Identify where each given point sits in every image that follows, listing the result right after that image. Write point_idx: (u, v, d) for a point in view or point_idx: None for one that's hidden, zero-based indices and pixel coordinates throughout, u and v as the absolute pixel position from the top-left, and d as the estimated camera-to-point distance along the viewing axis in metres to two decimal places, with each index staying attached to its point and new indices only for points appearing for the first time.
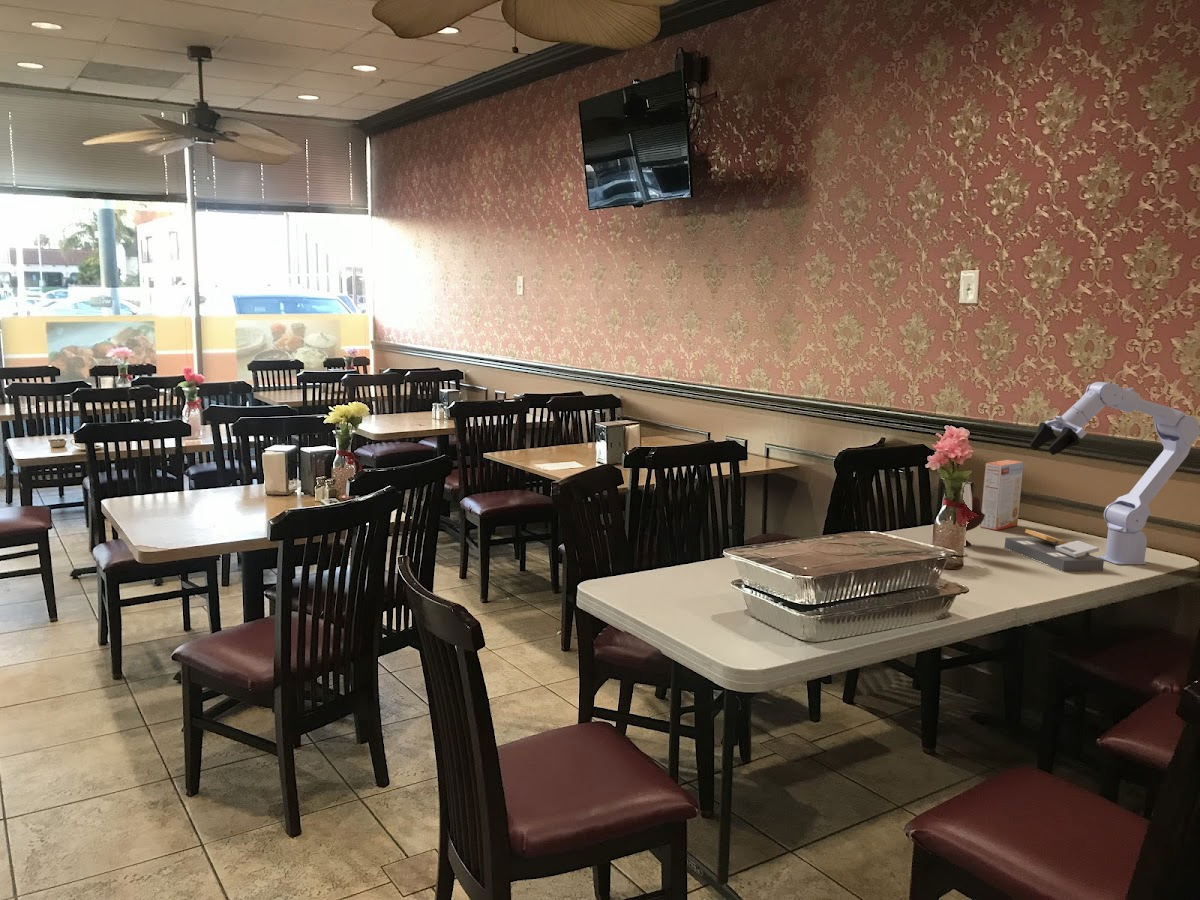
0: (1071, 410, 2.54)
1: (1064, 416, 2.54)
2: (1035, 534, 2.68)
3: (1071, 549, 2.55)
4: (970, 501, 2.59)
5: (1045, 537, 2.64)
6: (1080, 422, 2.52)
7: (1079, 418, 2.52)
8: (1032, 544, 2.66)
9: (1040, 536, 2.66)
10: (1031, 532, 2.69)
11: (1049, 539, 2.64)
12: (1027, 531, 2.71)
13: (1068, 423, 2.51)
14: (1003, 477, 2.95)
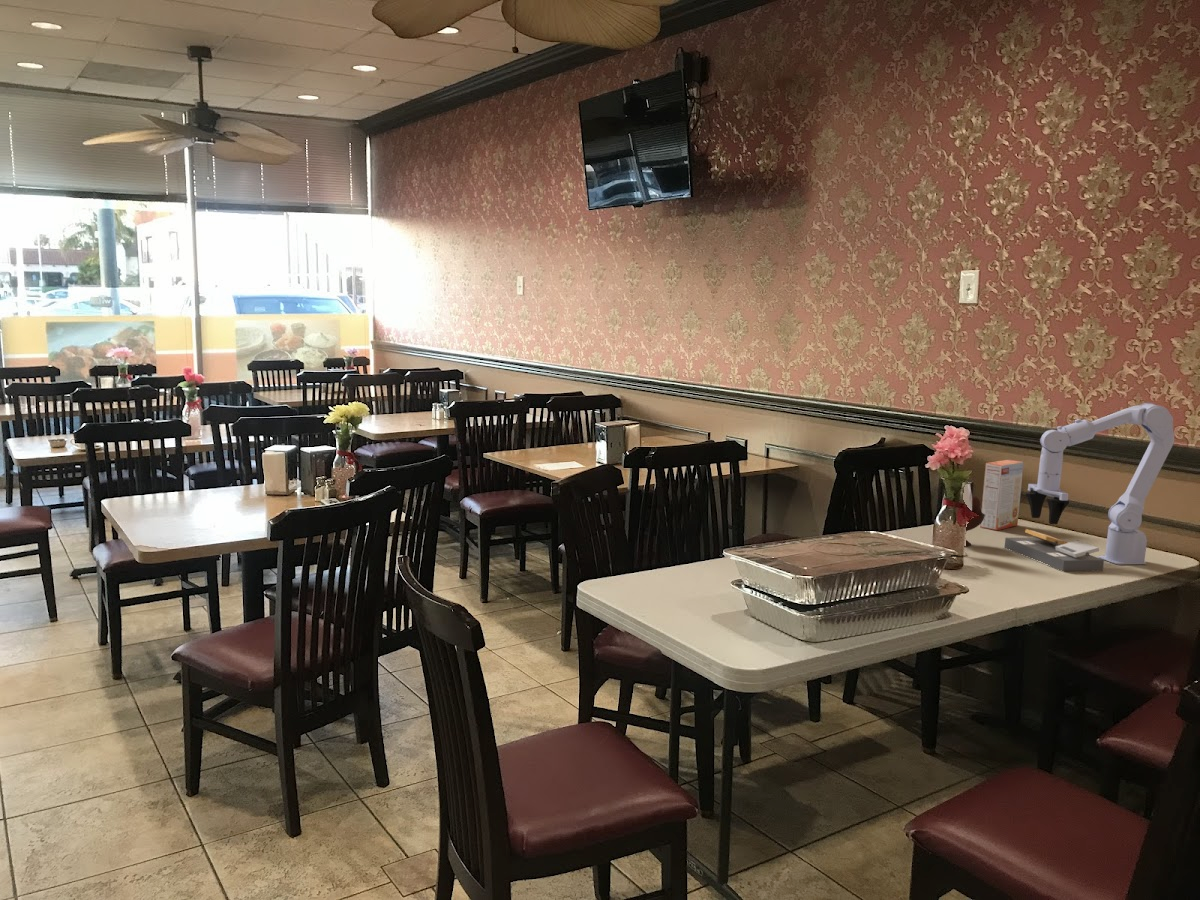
0: (1041, 476, 2.65)
1: (1040, 484, 2.65)
2: (1035, 534, 2.68)
3: (1071, 549, 2.55)
4: (970, 501, 2.59)
5: (1045, 537, 2.64)
6: (1056, 481, 2.63)
7: (1053, 479, 2.63)
8: (1032, 544, 2.66)
9: (1040, 536, 2.66)
10: (1031, 532, 2.69)
11: (1049, 539, 2.64)
12: (1027, 531, 2.71)
13: (1048, 492, 2.63)
14: (1003, 477, 2.95)
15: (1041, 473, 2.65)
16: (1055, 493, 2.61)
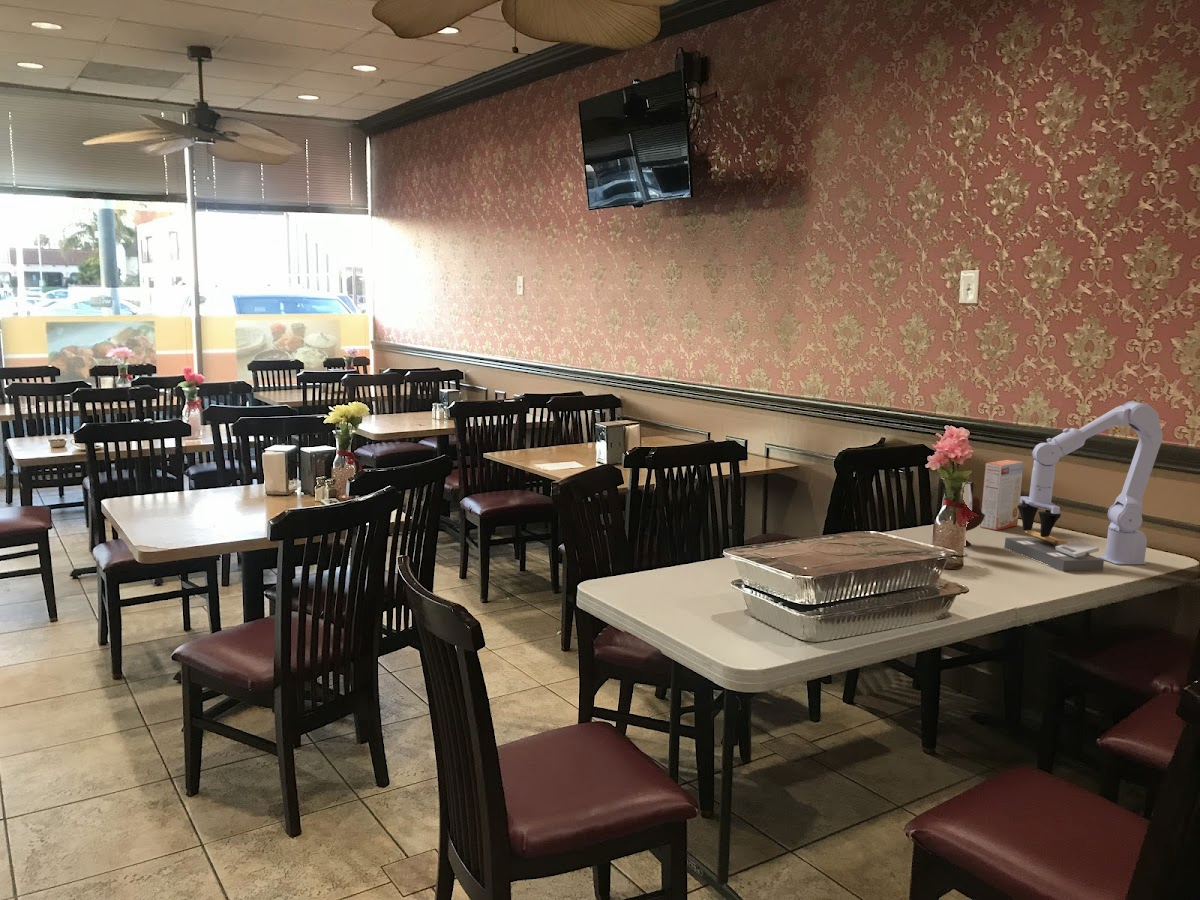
0: (1033, 489, 2.65)
1: (1031, 497, 2.65)
2: (1035, 534, 2.68)
3: (1071, 549, 2.55)
4: (970, 501, 2.59)
5: (1045, 537, 2.64)
6: (1047, 494, 2.63)
7: (1045, 492, 2.63)
8: (1032, 544, 2.66)
9: (1040, 536, 2.66)
10: (1031, 532, 2.69)
11: (1049, 539, 2.64)
12: (1027, 531, 2.71)
13: (1039, 505, 2.63)
14: (1003, 477, 2.95)
15: (1033, 486, 2.65)
16: (1047, 506, 2.61)
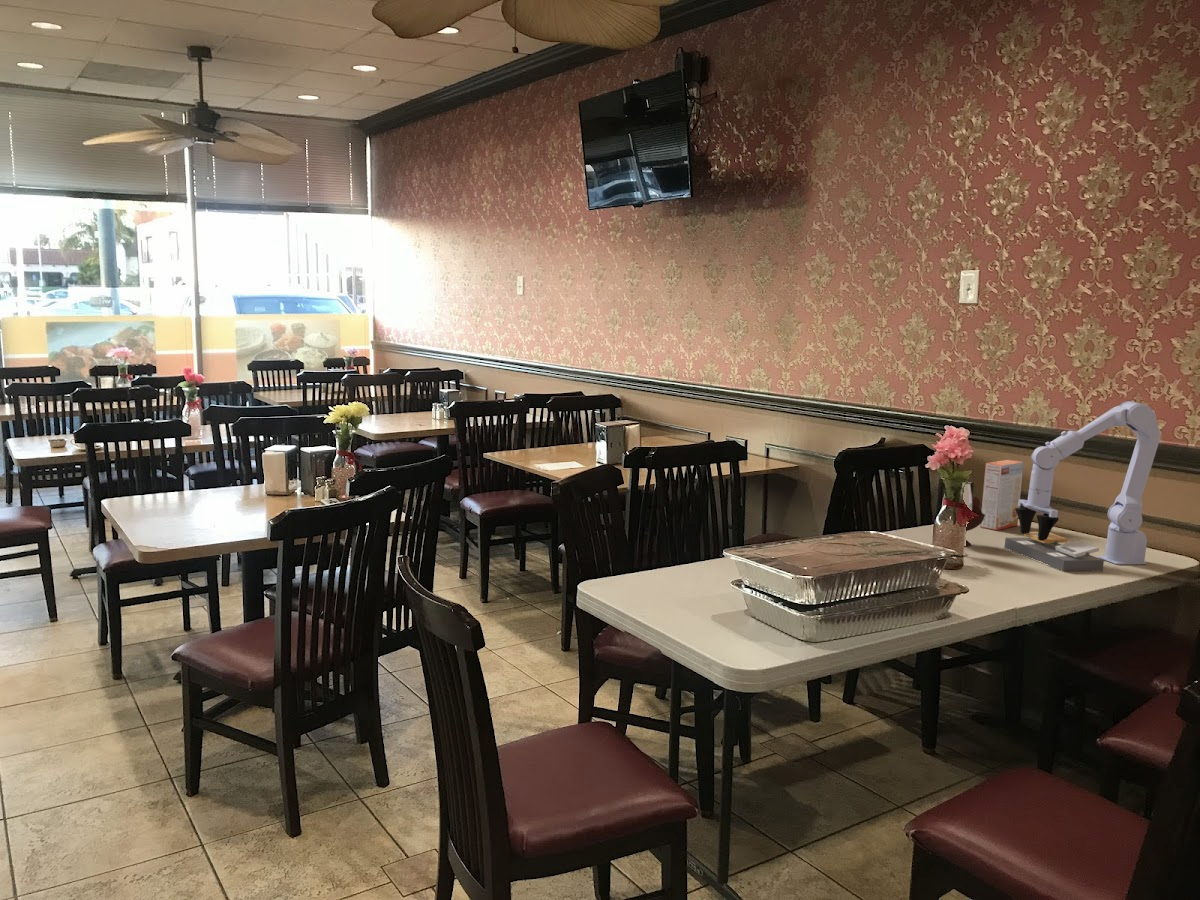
0: (1031, 492, 2.65)
1: (1030, 501, 2.65)
2: (1034, 537, 2.68)
3: (1071, 549, 2.55)
4: (970, 501, 2.59)
5: (1044, 540, 2.64)
6: (1046, 498, 2.63)
7: (1043, 496, 2.63)
8: (1032, 544, 2.66)
9: None
10: (1030, 535, 2.69)
11: (1048, 541, 2.64)
12: (1026, 534, 2.71)
13: (1037, 508, 2.63)
14: (1003, 477, 2.95)
15: (1031, 489, 2.65)
16: (1045, 510, 2.61)
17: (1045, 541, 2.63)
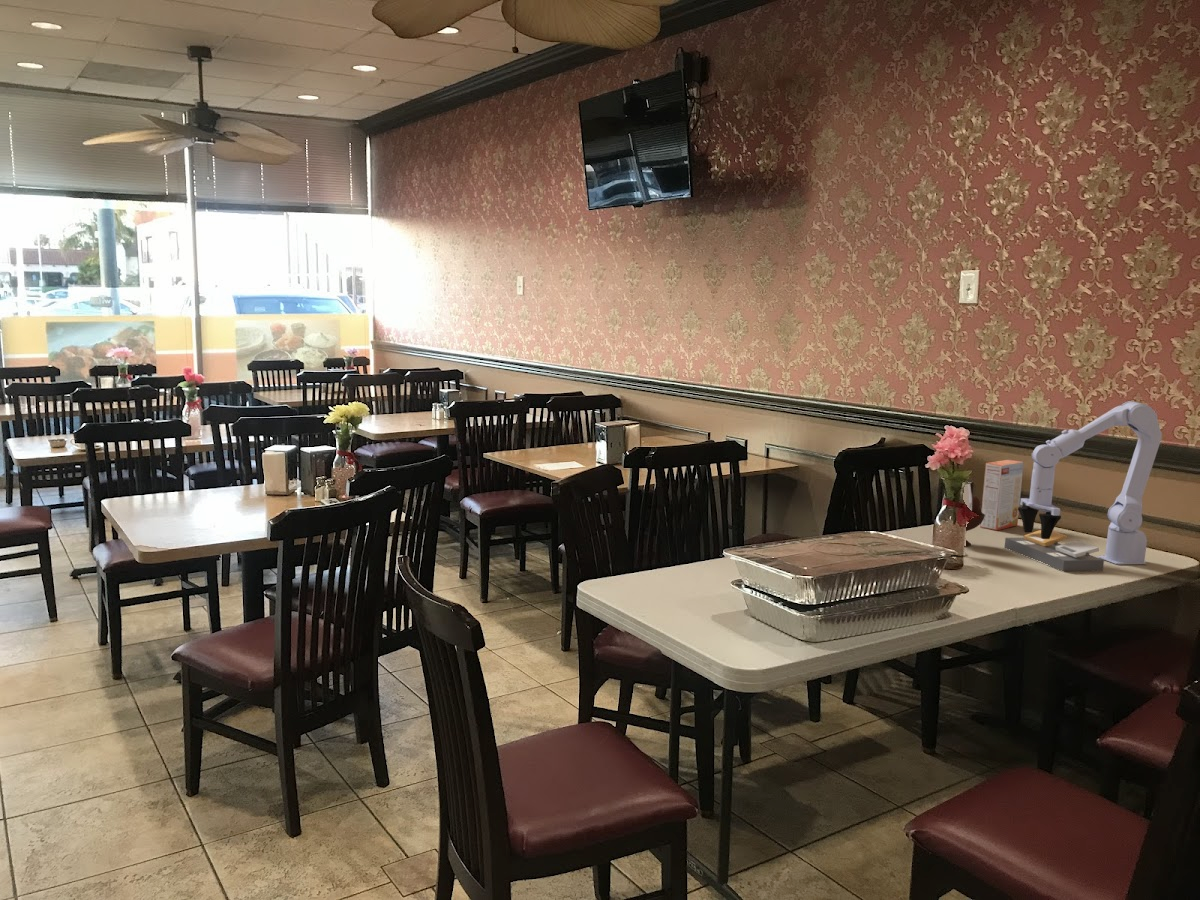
0: (1033, 491, 2.65)
1: (1032, 499, 2.65)
2: (1034, 541, 2.68)
3: (1071, 549, 2.55)
4: (970, 501, 2.59)
5: (1043, 544, 2.64)
6: (1048, 496, 2.63)
7: (1045, 494, 2.63)
8: (1032, 544, 2.66)
9: (1039, 543, 2.66)
10: (1029, 539, 2.70)
11: (1048, 544, 2.64)
12: (1026, 538, 2.71)
13: (1040, 507, 2.63)
14: (1003, 477, 2.95)
15: (1033, 488, 2.65)
16: (1047, 508, 2.61)
17: (1045, 544, 2.64)
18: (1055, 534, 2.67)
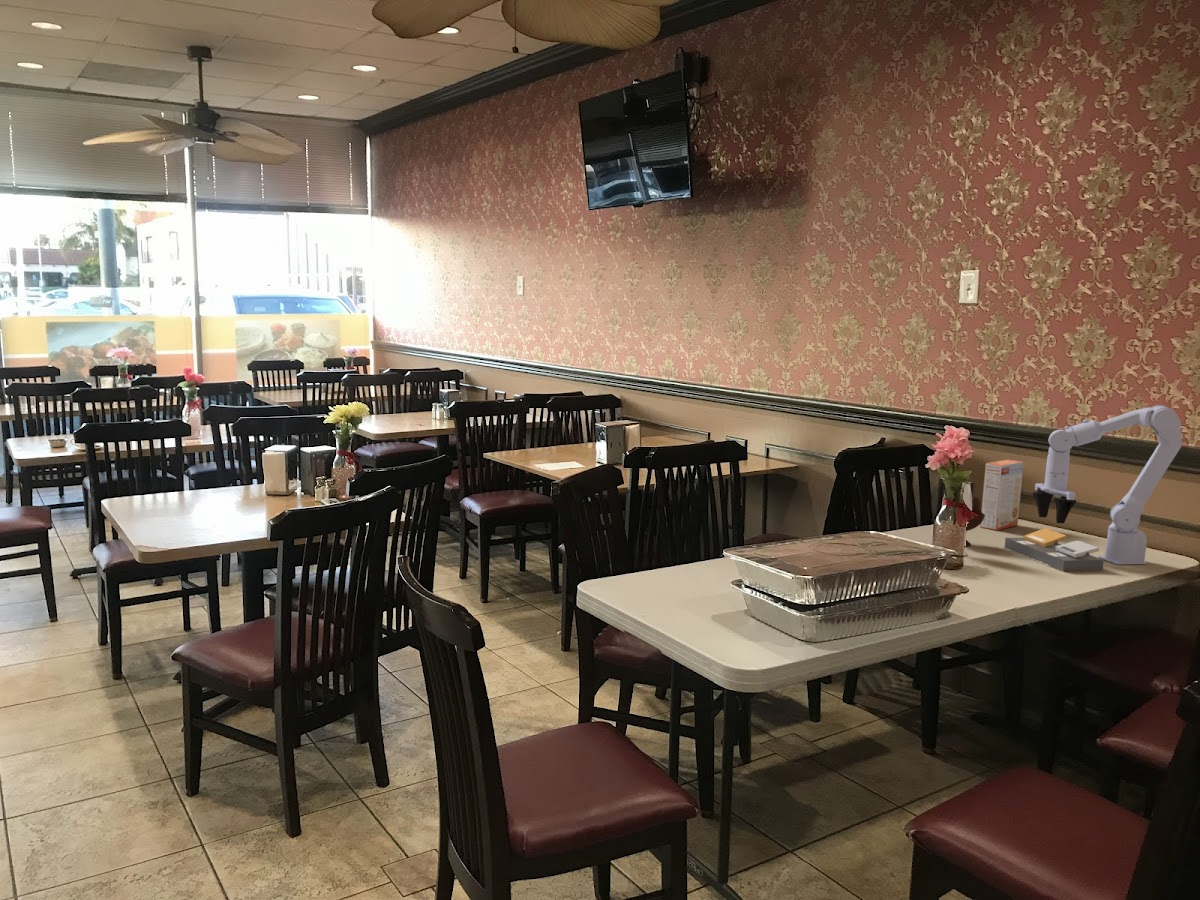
0: (1048, 475, 2.66)
1: (1047, 484, 2.67)
2: (1034, 541, 2.68)
3: (1071, 549, 2.55)
4: (970, 501, 2.59)
5: (1043, 544, 2.64)
6: (1063, 481, 2.65)
7: (1060, 479, 2.65)
8: (1032, 544, 2.66)
9: (1039, 543, 2.66)
10: (1029, 539, 2.70)
11: (1048, 544, 2.64)
12: (1026, 538, 2.71)
13: (1055, 491, 2.65)
14: (1003, 477, 2.95)
15: (1048, 473, 2.66)
16: (1062, 492, 2.63)
17: (1045, 544, 2.64)
18: (1055, 534, 2.67)
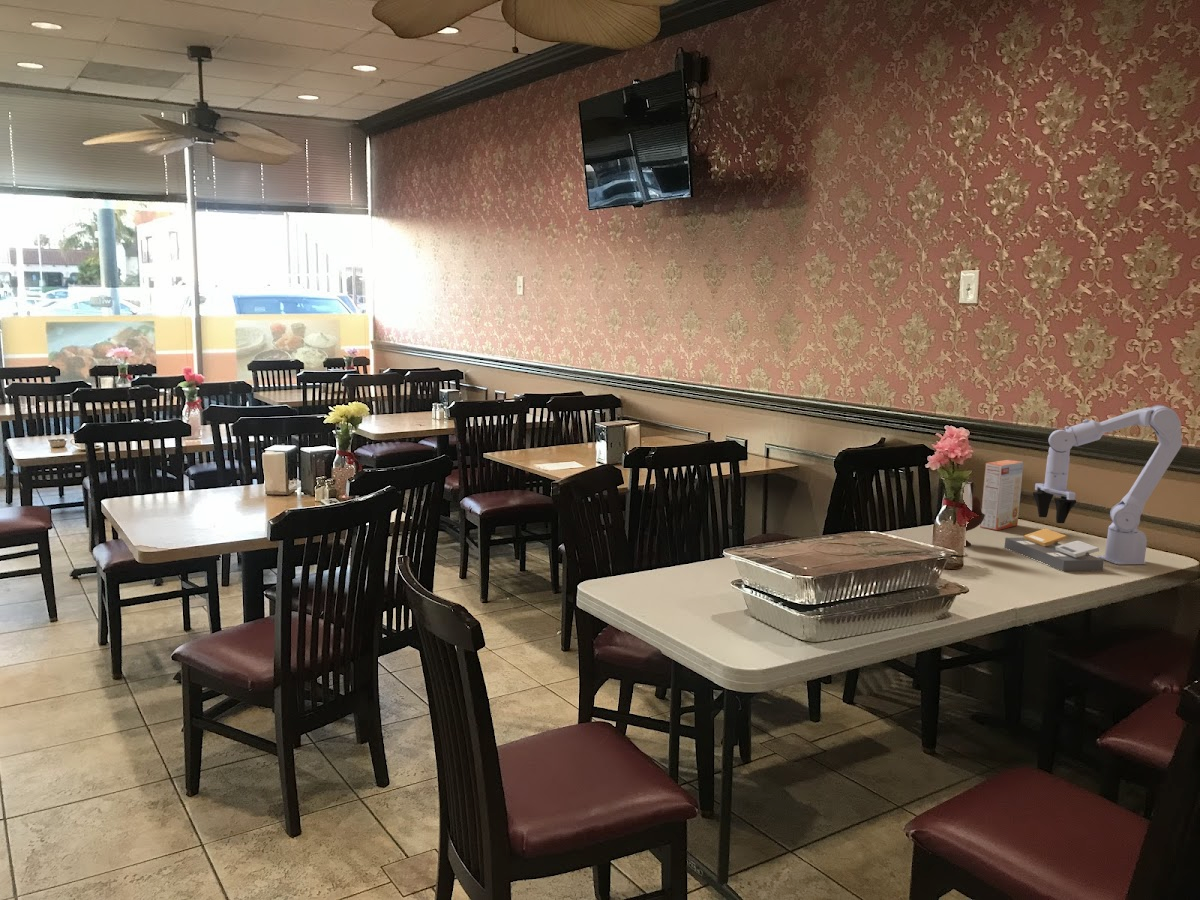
0: (1048, 475, 2.66)
1: (1047, 484, 2.67)
2: (1034, 541, 2.68)
3: (1071, 549, 2.55)
4: (970, 501, 2.59)
5: (1043, 544, 2.64)
6: (1063, 481, 2.65)
7: (1060, 479, 2.65)
8: (1032, 544, 2.66)
9: (1039, 543, 2.66)
10: (1029, 539, 2.70)
11: (1048, 544, 2.64)
12: (1026, 538, 2.71)
13: (1055, 491, 2.65)
14: (1003, 477, 2.95)
15: (1048, 473, 2.66)
16: (1062, 492, 2.63)
17: (1045, 544, 2.64)
18: (1055, 534, 2.67)
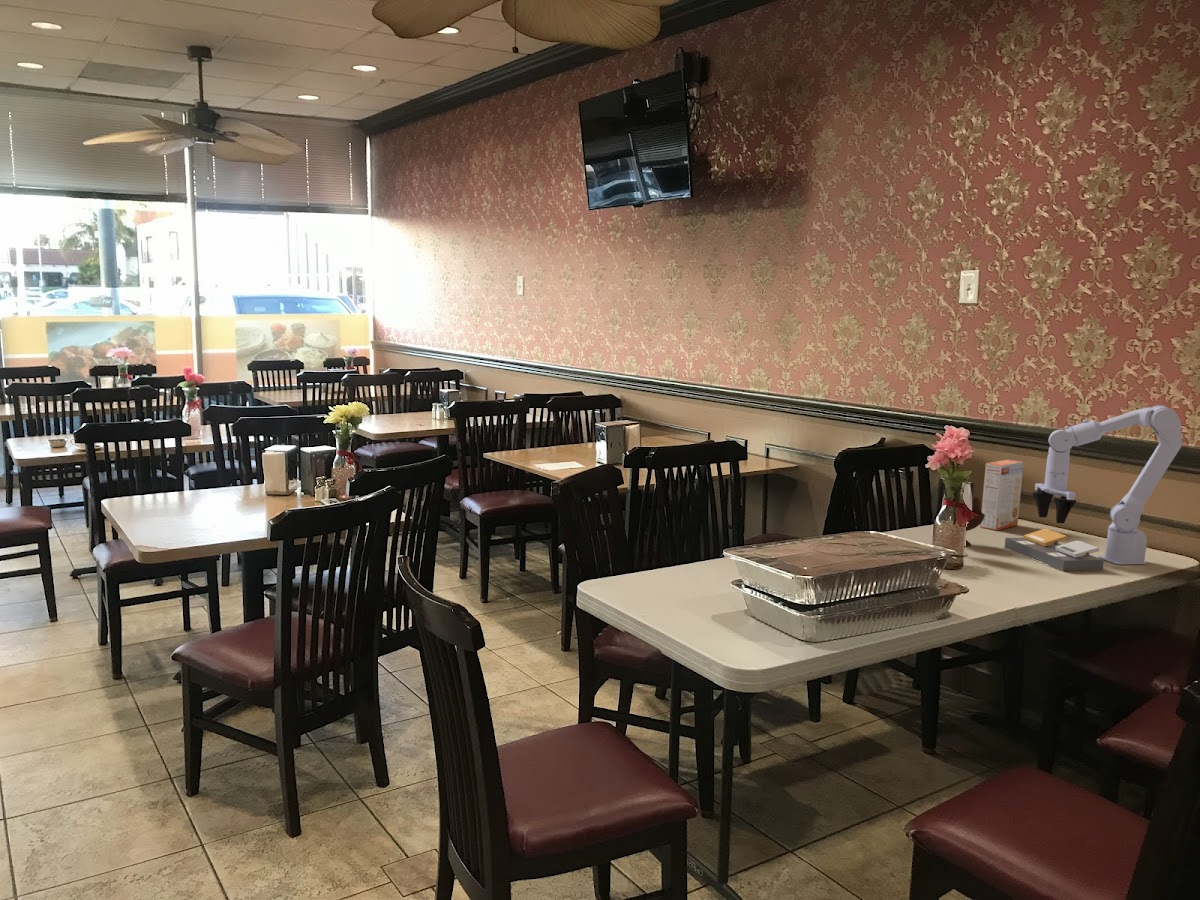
0: (1048, 475, 2.66)
1: (1047, 484, 2.67)
2: (1034, 540, 2.68)
3: (1071, 549, 2.55)
4: (970, 501, 2.59)
5: (1043, 544, 2.64)
6: (1063, 481, 2.65)
7: (1060, 479, 2.65)
8: (1032, 544, 2.66)
9: (1039, 543, 2.66)
10: (1029, 538, 2.70)
11: (1048, 543, 2.64)
12: (1026, 537, 2.71)
13: (1055, 491, 2.65)
14: (1003, 477, 2.95)
15: (1048, 473, 2.66)
16: (1062, 492, 2.63)
17: (1045, 544, 2.64)
18: (1055, 534, 2.67)
